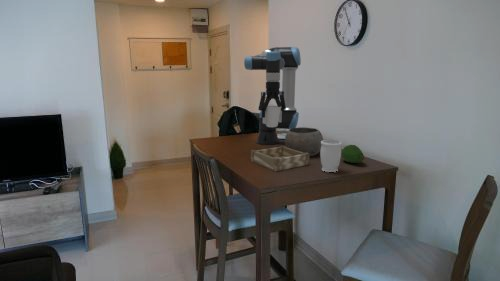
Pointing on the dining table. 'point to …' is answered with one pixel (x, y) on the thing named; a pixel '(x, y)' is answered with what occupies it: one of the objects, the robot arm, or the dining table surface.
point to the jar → (330, 155)
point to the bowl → (304, 140)
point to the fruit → (352, 154)
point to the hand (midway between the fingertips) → (272, 122)
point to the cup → (273, 116)
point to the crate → (279, 158)
